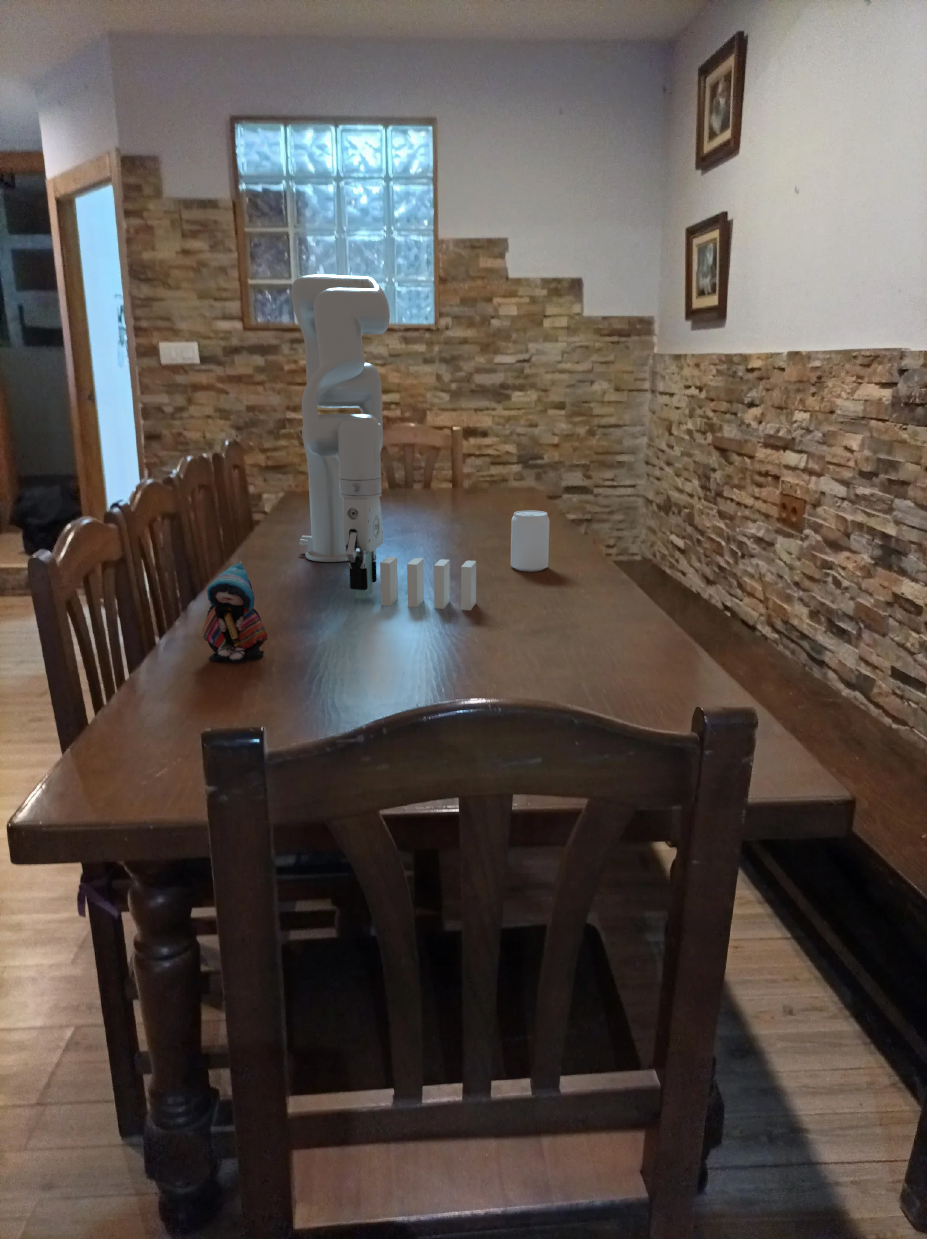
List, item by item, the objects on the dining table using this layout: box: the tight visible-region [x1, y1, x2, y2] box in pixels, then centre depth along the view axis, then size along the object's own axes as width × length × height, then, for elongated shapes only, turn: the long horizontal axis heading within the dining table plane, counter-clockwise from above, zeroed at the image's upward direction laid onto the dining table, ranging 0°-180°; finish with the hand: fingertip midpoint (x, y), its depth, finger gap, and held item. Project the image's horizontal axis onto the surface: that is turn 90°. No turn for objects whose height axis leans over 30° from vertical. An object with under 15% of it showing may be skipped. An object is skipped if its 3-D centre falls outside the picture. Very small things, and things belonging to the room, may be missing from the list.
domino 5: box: [460, 560, 477, 611], centre depth 157 cm, size 2×5×8 cm, turn 169°
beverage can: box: [510, 509, 551, 573], centre depth 185 cm, size 8×8×12 cm
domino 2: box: [379, 556, 399, 607], centre depth 160 cm, size 2×5×8 cm, turn 169°
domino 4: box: [433, 558, 451, 610], centre depth 158 cm, size 2×5×8 cm, turn 169°
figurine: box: [200, 560, 268, 663], centre depth 128 cm, size 10×7×15 cm
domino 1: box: [354, 550, 374, 599], centre depth 161 cm, size 2×5×8 cm, turn 169°
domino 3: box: [406, 557, 425, 608], centre depth 159 cm, size 2×5×8 cm, turn 169°
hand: (363, 584), depth 161 cm, fingers closed on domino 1, 4 cm apart
